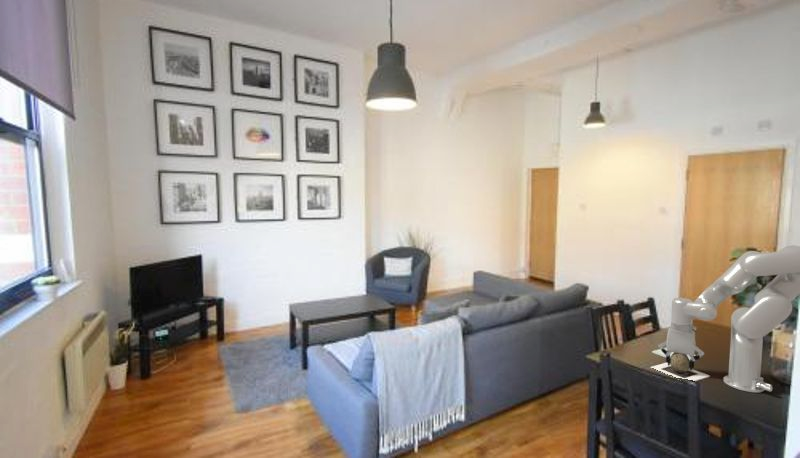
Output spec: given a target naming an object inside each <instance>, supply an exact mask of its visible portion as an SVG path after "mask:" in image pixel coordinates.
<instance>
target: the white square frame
mask: <svg viewBox="0 0 800 458" xmlns="http://www.w3.org/2000/svg"><path fill="white" fill-rule="evenodd" d="M652 368H654V369H656V370H655V371H657V370H658V371H657V372H659V371H661V372H660V373H662V372H663V373H662V374H664V373H665V375H667V374H668V375H667V376H669V375H672V376H673V377H672V376H671V377H672V378H674V377H676V378H682V379H688V380H693V381H695V382H699V381H701V380H704V379H707V378H710V377H711V376H710V375H709V374H706V373H705V372H701V371H698V370H695V369H694V368H692V370H690V368H689V369H688V371H687V372H684V373H681V374H682V375H680V376H679V375H677V374H676V371H675V370H674V369H673V368H672V367H671V365H669V366H668V363H666V362H663V363H661V364H657V365H652V366H650V369H652ZM669 368H671V369H670V372H669V371H667V370H665V369H669ZM654 369H653V370H654ZM671 370H672V372H675V373H672V372H671ZM688 372H691V373H694V375H690V376H688V377H684V376H686V375H689V373H688ZM682 376H683V377H682ZM676 378H675V379H676Z"/></svg>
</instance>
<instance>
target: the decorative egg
mask: <svg viewBox="0 0 800 458" xmlns="http://www.w3.org/2000/svg"><path fill="white" fill-rule="evenodd" d="M670 365H671V367H670V368H671V369H674V370H675V371H676V372H677V373H680V374H683V373H687V372H689V371H688V369H689V368H690V360H689V358H688V356H687V355H686V354H681V353H675V352H674V353H673V354H672V356H671V358H670ZM676 372H675V373H676Z"/></svg>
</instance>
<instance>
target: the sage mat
mask: <svg viewBox="0 0 800 458" xmlns="http://www.w3.org/2000/svg"><path fill="white" fill-rule="evenodd" d="M663 348H664V349H665V350H666V351H667V348H666V347H663ZM673 353H674V352H671V354H670V358H671V356H672V354H673ZM651 354H654V355H655V354H656V355H658V356H660V357H663V358H666V355H665V354H664V353H663V352H662V350H661V349H660V348H659V349H654V350H652V351H651ZM695 355H696V354H694V356H695ZM687 356H688V358H689V360H690V359H691V358H690V356H689V355H687ZM701 358H702V357H700V358H699V359H701Z"/></svg>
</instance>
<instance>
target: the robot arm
mask: <svg viewBox="0 0 800 458" xmlns="http://www.w3.org/2000/svg"><path fill="white" fill-rule="evenodd" d="M764 276H765V277H766V276H774V278H773V279H772V280H771V281H770V282H769V283H767V285H766V286H764V287H763V288H762V289H761V290H760V291H758V292H757V293H756V294H755V296H754V298H753V301H754V304H753V305H751V307H745V306H744V307H739V308H737V309H736V310H734V311H733V312H732V314H731V316H730V317H731V318H730V343H729V345H730V346H729V363H728V374H727V375H725V376H723V379H722V380H723V382H724V384H726V385H728V386H729V387H731V388H734V389H737V390H739V391H744V392H748V393H762V392H765V391H767V392H772V391H773V385H772V384H770V383H767V382H765V381H764V377H762V376H761V373H762V372H761V370H762V358H763V357H762V356H763V355H762V354H763V341H764V340H763V339H764V338H763V337H765V336H767V335H768V334H770V333H771V332H772V331H773V330H774V329H776V328H777V327H778V326H779V325H780V324H781V323H782V322H783V323H784V321H785V320H786V319H788V317H789V316H790V314H792V312H793V304H792V301H793V300H795V299H796V298H797V297H798V296H799V295H800V246H799V245H796V244H795V245H793V244H792V245H786V246H784V247H782V248H781V249H780V250H779V251H771V252H761V251H756V250H749V251H746V252H744V253H743V254H742V255H741V256H739V258H738V259H736V261H735V262H733V264H731V265H730V266H729V267H728V269H727V270H726V271H724V272H723V274H722V275H720V277H717V279H716V280H715V281H713V283H711V284H710V285H709V286H708V287H707V288H706V289H705V290H704V291H703V292H702V293H701V294H700V295H698V297H697V298H696V299H695V300H694V301H693V300H692V299H690V298H685V297H674V298H673V299H672V301H671V314H670V315H671V316H670V327H668V329H667V334H666V340H665V341H663V342H661V343H659V344H657V347H658V348H659V349H661V350H662V352H663V353H664V354H665V355H666V357H665V363H668V366H669V365H670V354H671V352H675V353H681V354H686V355H689V356H690V358H691V359H690V370H692V369H695V362H696V361H697V360H699V359H701V358H702V357H703V356H704V355H705V351H703V350H702V349H700V348H699V347H698V346H696V333H695V331H694V330H697V326H696V325H693V324H694V323H693V321H694V320H693V319H695V320H700V321H705V322H707V321H710V322H711V321H712V320H714V319H716V318H717V315H718V311H717V308H718V307H719V306H720V305H721V304H722V303H723V302H724V301H726V300H727V299H729V297H731V296H733V295H736V294H737V295H738V294H740V293H742V292H743V291H745V289H746V288H747V287H748V286H749V285H750V284H751V283H752V282H753V281H755V280H756V278H758V277H764ZM665 346H666V347H665ZM664 348H667V351H666V350H665V349H664ZM696 352H697V353H698V354H695V353H696ZM694 355H695V356H694ZM700 357H701V358H700Z"/></svg>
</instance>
